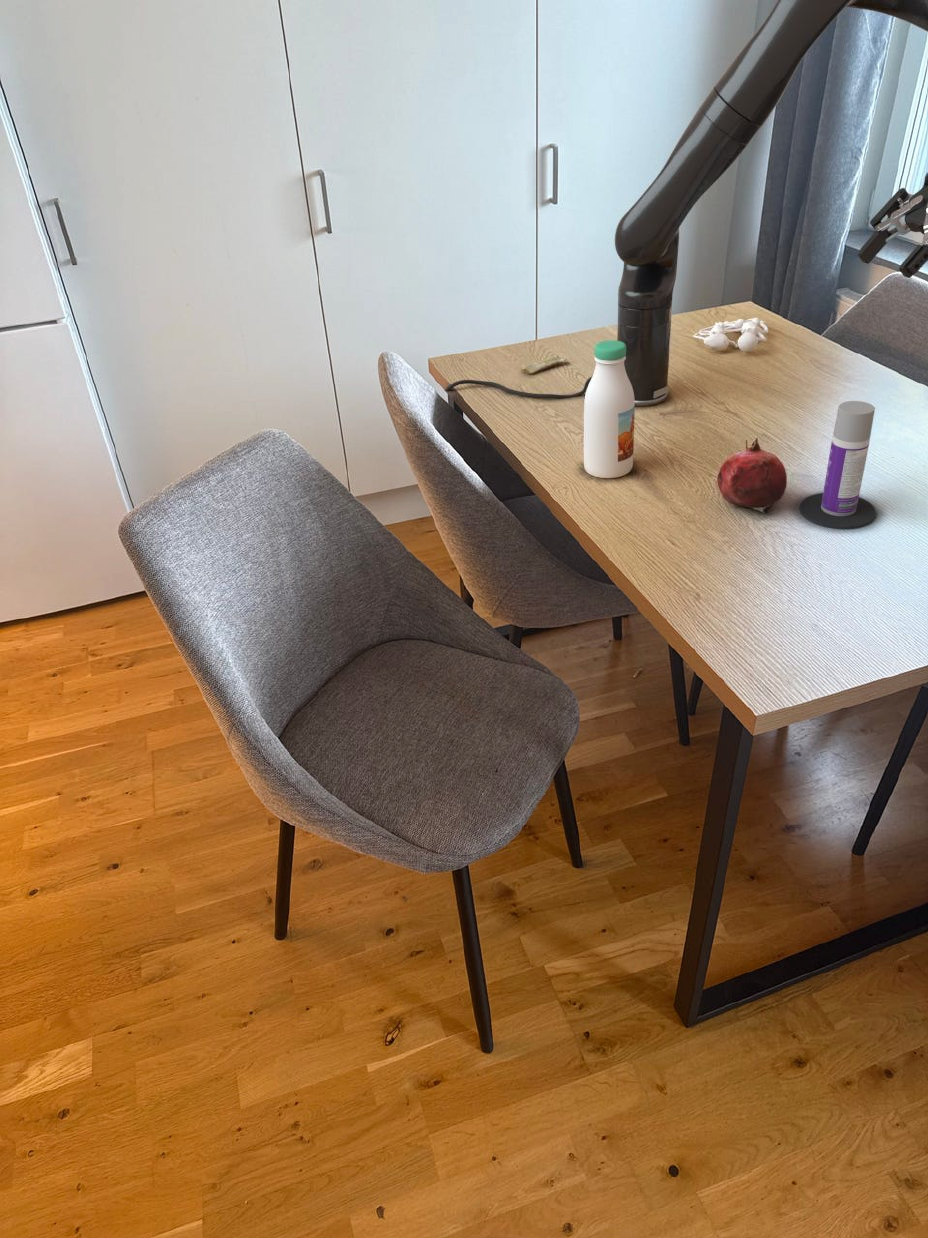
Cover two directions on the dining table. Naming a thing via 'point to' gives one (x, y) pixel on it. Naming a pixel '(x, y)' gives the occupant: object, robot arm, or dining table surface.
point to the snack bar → (543, 364)
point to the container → (847, 458)
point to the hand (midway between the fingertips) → (882, 266)
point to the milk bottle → (609, 414)
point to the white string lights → (746, 327)
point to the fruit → (752, 478)
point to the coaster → (816, 515)
